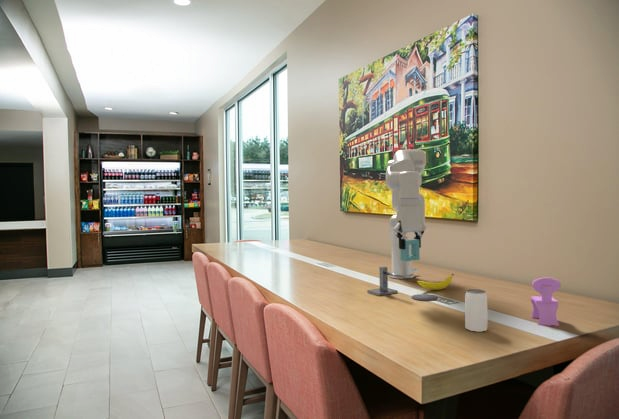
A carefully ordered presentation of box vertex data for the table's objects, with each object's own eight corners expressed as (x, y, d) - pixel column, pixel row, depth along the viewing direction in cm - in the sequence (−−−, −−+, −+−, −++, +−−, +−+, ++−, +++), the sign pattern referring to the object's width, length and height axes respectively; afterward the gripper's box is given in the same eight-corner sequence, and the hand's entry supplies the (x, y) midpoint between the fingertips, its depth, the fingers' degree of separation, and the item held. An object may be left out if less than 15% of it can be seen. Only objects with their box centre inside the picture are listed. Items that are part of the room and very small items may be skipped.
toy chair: (554, 318, 148) (554, 273, 147) (563, 326, 139) (563, 278, 139) (527, 317, 150) (527, 273, 149) (534, 324, 141) (534, 278, 140)
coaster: (424, 294, 186) (424, 293, 186) (442, 298, 177) (442, 297, 177) (406, 297, 181) (406, 296, 181) (423, 302, 172) (423, 301, 172)
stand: (385, 289, 196) (385, 264, 196) (413, 297, 180) (413, 270, 180) (367, 292, 191) (366, 266, 191) (394, 300, 176) (393, 272, 175)
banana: (415, 291, 191) (414, 277, 191) (451, 287, 198) (451, 273, 197) (419, 293, 188) (418, 278, 188) (455, 288, 195) (455, 274, 195)
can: (461, 326, 141) (461, 289, 140) (481, 325, 141) (481, 288, 141) (470, 333, 134) (470, 293, 134) (491, 332, 135) (491, 292, 134)
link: (414, 258, 177) (414, 238, 177) (419, 259, 175) (419, 239, 174) (400, 260, 174) (400, 240, 173) (405, 261, 171) (405, 240, 171)
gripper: (419, 202, 181) (420, 245, 181) (385, 203, 172) (386, 249, 173) (432, 202, 174) (433, 247, 175) (398, 204, 166) (398, 251, 167)
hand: (409, 247), depth 174 cm, fingers closed on link, 7 cm apart
